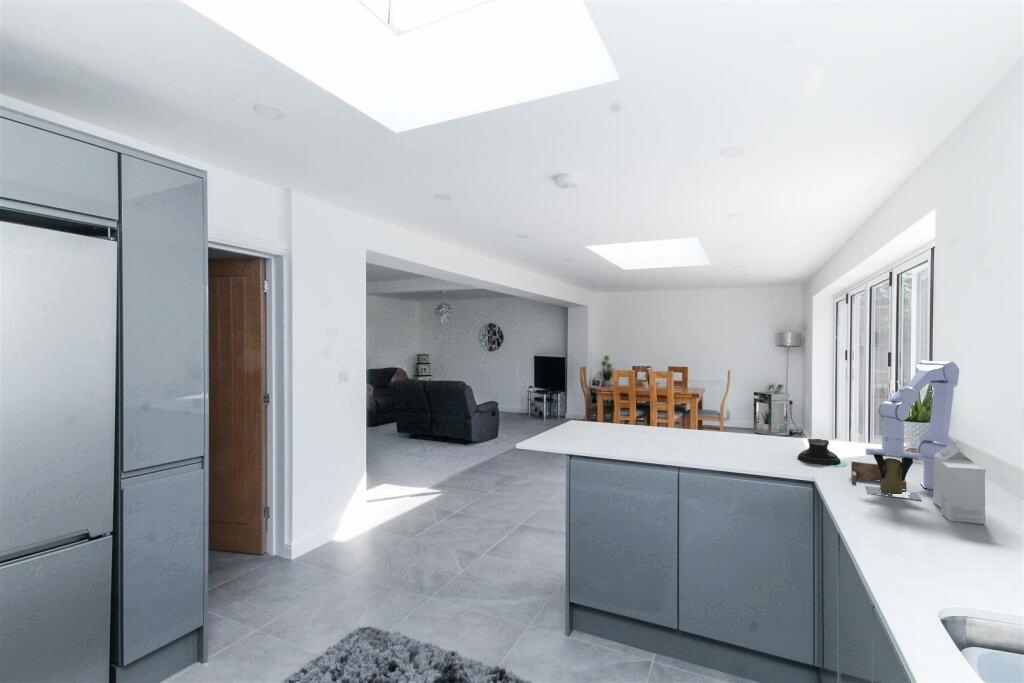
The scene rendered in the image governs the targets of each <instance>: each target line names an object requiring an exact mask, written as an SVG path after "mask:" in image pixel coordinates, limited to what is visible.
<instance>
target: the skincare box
mask: <svg viewBox="0 0 1024 683" xmlns="http://www.w3.org/2000/svg"><path fill="white" fill-rule="evenodd" d="M940 509H941V511H940V513H941V515H942V516H943V515H944V518H946V519H947V520H948V521H949V522H960V523H966V524H967V523H969V524H977V525H986V469H985V468H983V467H981V466H979V465H977V464H976V463H974V464H962V463H947V462H941V507H940Z"/></svg>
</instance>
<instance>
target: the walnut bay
mask: <svg viewBox="0 0 1024 683" xmlns="http://www.w3.org/2000/svg"><path fill="white" fill-rule="evenodd" d="M850 466H851V473H850V474H851V477H850V478H851V481H852V484H853V483H855V485H857V478H859V480H865V479H870V480H869V481H873V480H880V481H879V482H881V481H882V478H881V475H880V470H879V467H878V464H877V463H871V462H861V461H851V465H850ZM884 468H885V467H884V466H883V470H884ZM901 473H902V468H901V469H900V476H901ZM901 485H902V489H906V490H907V480H906V479H905V481H902V480H901Z"/></svg>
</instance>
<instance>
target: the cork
mask: <svg viewBox="0 0 1024 683" xmlns="http://www.w3.org/2000/svg"><path fill="white" fill-rule="evenodd" d="M883 459H884V467H885V468H884V478H882V481H880V485H879V486H880V487H879V488H880V490H881V491H883V492H886V493H890V494H902V491H903V490H902V485H901V476H900V469H901V468H902V460H900V459H898V458H895V457H885V458H883Z"/></svg>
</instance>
